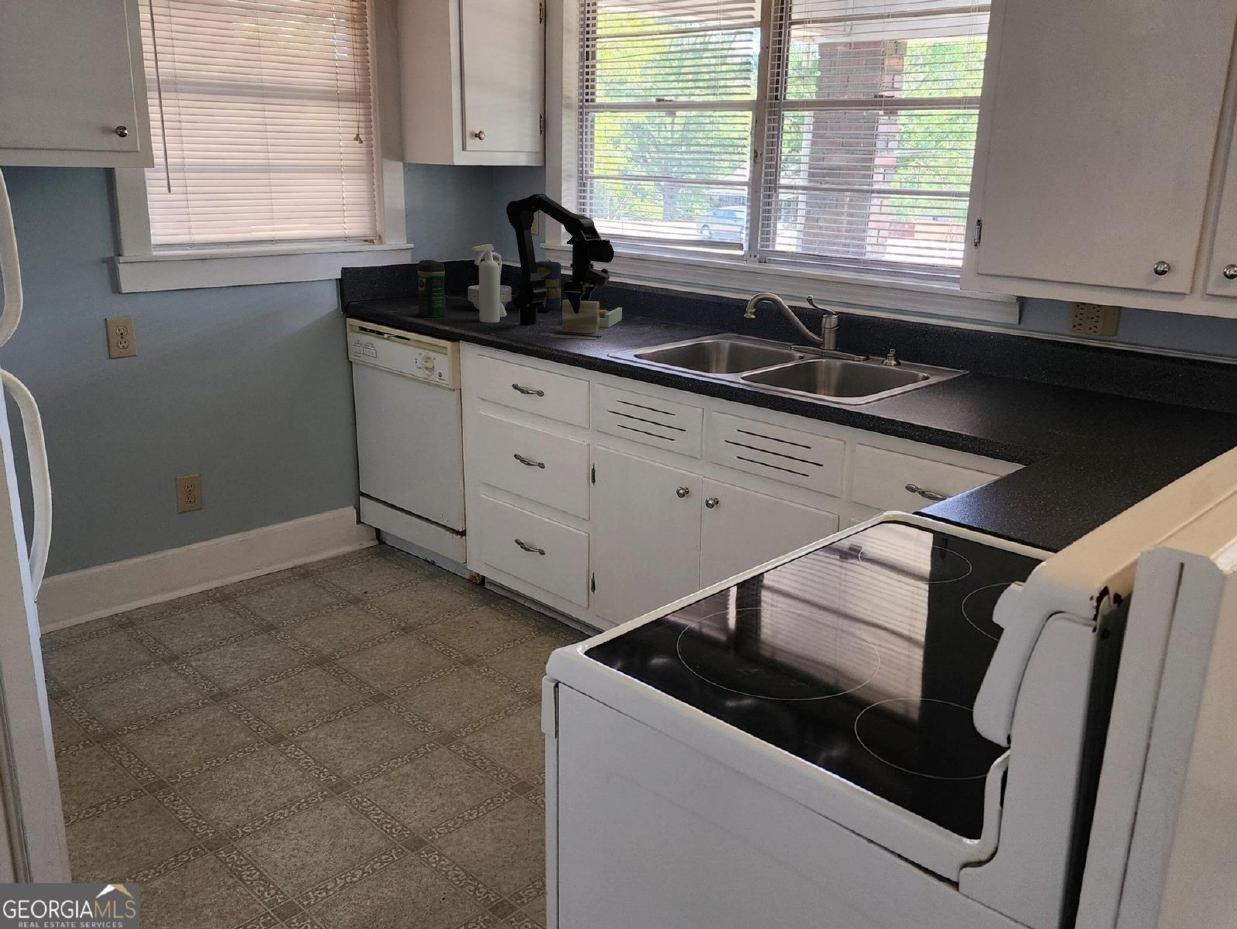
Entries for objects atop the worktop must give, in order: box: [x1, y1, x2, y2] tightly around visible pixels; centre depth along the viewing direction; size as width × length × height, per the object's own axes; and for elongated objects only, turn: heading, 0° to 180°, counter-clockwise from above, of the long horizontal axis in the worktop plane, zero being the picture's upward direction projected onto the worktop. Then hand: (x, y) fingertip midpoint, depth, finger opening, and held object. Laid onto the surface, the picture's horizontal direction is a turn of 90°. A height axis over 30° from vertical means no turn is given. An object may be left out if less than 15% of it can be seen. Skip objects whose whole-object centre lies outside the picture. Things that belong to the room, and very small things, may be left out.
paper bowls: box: [467, 284, 512, 311], centre depth 373 cm, size 15×15×8 cm
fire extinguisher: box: [471, 243, 507, 324], centre depth 345 cm, size 7×12×25 cm, turn 130°
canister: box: [536, 258, 562, 312], centre depth 370 cm, size 10×10×18 cm
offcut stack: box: [599, 309, 608, 319], centre depth 341 cm, size 4×11×4 cm, turn 75°
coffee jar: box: [416, 259, 447, 318], centre depth 353 cm, size 10×8×19 cm
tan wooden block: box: [561, 299, 601, 335], centre depth 326 cm, size 3×11×10 cm, turn 75°
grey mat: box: [551, 332, 603, 341], centre depth 328 cm, size 14×14×1 cm
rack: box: [599, 307, 623, 328], centre depth 345 cm, size 16×15×5 cm
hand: (581, 311), depth 325 cm, fingers open, 9 cm apart
